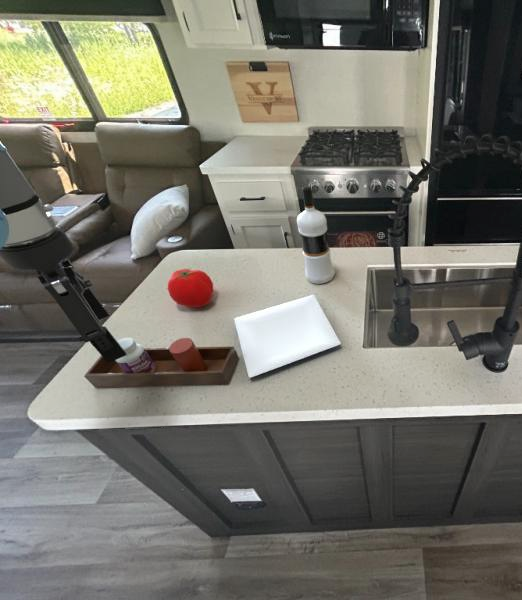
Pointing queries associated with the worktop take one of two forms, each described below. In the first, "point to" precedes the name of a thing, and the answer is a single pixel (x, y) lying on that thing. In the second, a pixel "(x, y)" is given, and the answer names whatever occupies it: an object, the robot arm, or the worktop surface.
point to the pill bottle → (135, 358)
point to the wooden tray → (167, 370)
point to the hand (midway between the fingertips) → (108, 336)
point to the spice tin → (187, 355)
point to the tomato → (190, 287)
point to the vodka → (314, 241)
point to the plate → (284, 334)
